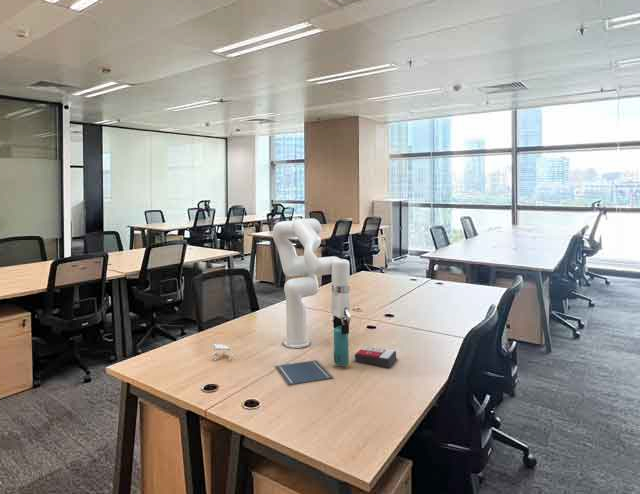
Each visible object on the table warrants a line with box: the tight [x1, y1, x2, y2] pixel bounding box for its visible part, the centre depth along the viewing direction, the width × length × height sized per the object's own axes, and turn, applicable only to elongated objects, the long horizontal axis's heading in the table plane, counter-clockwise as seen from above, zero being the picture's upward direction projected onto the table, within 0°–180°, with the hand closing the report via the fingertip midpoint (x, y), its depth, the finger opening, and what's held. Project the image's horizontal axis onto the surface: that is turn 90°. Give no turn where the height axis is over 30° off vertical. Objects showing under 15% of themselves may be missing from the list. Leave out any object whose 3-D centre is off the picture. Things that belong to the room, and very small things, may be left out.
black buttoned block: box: [354, 345, 397, 369], centre depth 186 cm, size 11×4×15 cm
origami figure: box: [211, 343, 234, 362], centre depth 189 cm, size 12×8×5 cm
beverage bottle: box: [333, 318, 350, 367], centre depth 179 cm, size 6×7×20 cm
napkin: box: [275, 360, 333, 386], centre depth 174 cm, size 18×18×1 cm
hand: (341, 330), depth 179 cm, fingers open, 7 cm apart
